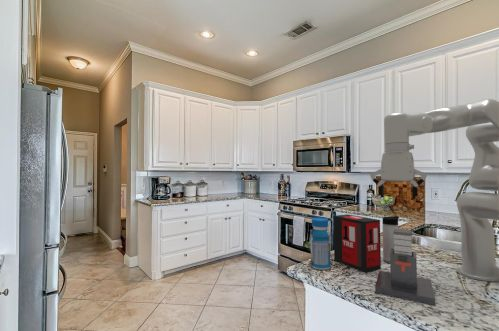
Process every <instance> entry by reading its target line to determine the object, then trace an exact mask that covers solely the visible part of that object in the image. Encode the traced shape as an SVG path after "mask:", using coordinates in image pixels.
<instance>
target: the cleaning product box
mask: <svg viewBox="0 0 499 331" xmlns="http://www.w3.org/2000/svg"><path fill="white" fill-rule="evenodd" d="M333 247H334V248H333V256H334V260H333V262H337V263H338V264H342V265H345V266H346V267H349V268H352V269H354V270H357V271H359V272H361V273H364V274H369V273H372V272H376V271H377V272H378V271H381V270H382V263H381V262H382V257H381V255H382V252H381V220H380V219H377V218H370V217H365V216H359V215H353V214H348V213H347V214H339V215H333Z"/></svg>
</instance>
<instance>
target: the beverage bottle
mask: <svg viewBox="0 0 499 331" xmlns="http://www.w3.org/2000/svg"><path fill="white" fill-rule="evenodd" d="M311 226H312V227H313V228H312V229H311V231H310V238H309V243H310V266H311V268H313V269H315V270H320V271H326V270H327V271H328V270H330V269H331V267H332V264H331V244H332V243H331V242H332V240H331V239H330V238H331V233H330V231H329V229H328V227H329V219H328V218H326V217H312V218H311Z"/></svg>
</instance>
